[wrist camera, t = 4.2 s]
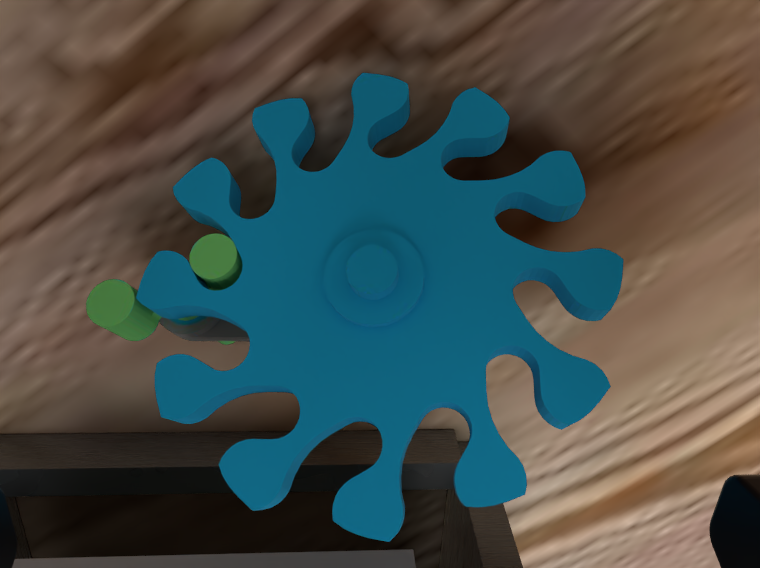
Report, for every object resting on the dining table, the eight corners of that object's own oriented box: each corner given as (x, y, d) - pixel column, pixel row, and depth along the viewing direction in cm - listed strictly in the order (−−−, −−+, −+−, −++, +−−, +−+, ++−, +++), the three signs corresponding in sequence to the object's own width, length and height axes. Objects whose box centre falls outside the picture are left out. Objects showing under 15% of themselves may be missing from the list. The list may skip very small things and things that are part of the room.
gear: (611, 48, 14) (663, 553, 11) (560, 179, 19) (584, 535, 16) (114, 62, 15) (26, 531, 12) (202, 183, 20) (159, 521, 17)
